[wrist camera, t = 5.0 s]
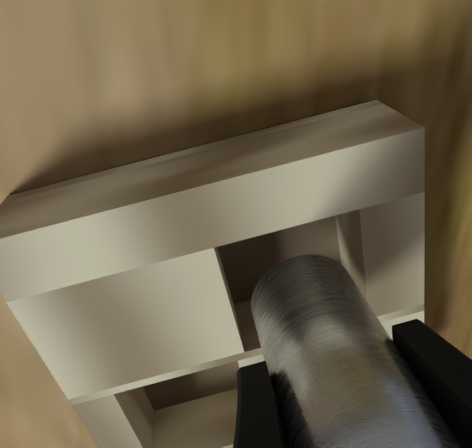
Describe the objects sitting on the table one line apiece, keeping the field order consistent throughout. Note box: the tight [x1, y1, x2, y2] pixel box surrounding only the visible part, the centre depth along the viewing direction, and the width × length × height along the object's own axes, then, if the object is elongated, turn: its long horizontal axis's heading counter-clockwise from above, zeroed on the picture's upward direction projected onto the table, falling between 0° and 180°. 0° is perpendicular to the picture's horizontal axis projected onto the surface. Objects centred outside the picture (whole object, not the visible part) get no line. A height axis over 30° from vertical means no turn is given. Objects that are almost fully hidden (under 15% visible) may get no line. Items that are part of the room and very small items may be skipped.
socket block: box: [0, 100, 425, 448], centre depth 16 cm, size 12×12×3 cm
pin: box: [251, 254, 462, 448], centre depth 9 cm, size 3×3×8 cm
